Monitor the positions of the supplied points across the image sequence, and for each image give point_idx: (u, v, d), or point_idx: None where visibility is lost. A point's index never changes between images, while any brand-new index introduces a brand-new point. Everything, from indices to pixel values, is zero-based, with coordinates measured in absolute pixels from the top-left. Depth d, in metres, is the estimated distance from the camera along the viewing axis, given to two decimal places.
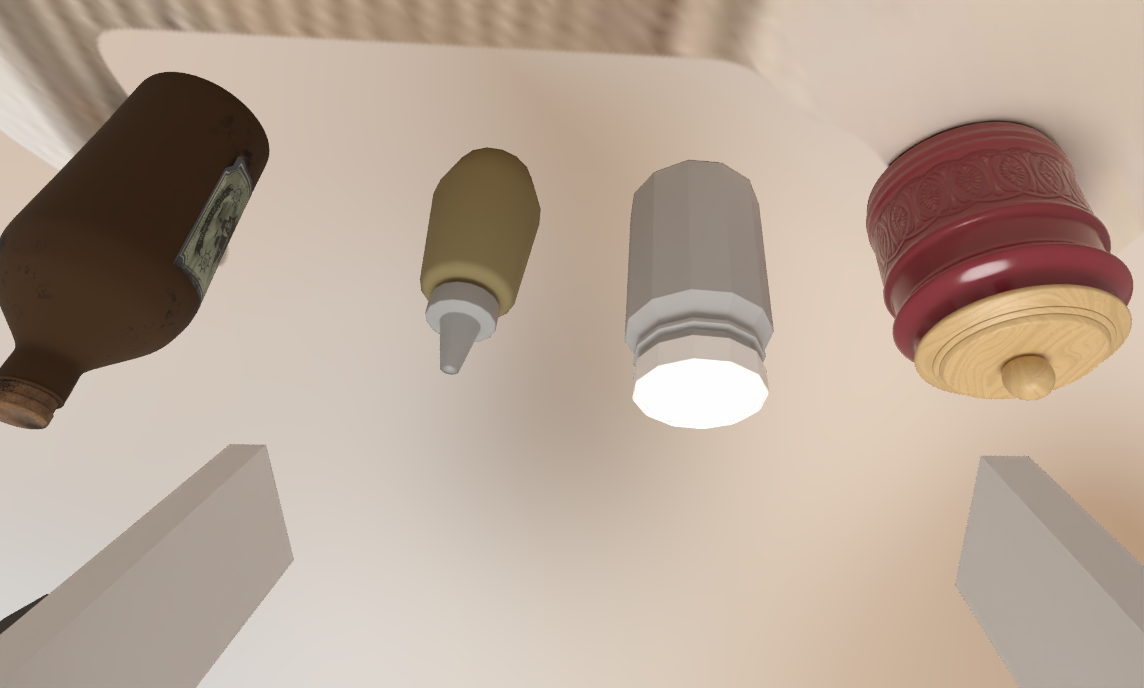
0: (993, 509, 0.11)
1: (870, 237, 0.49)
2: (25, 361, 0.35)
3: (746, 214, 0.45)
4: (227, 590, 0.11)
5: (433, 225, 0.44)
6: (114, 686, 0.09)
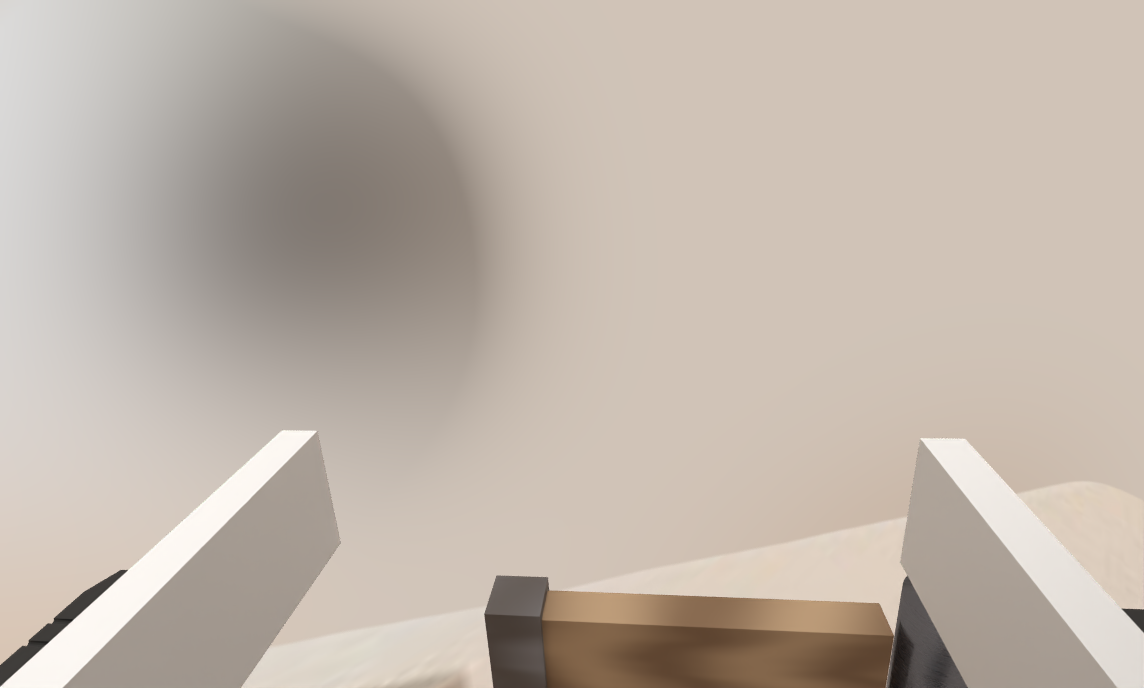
0: (930, 488, 0.11)
1: None
2: None
3: None
4: (285, 569, 0.12)
5: None
6: (192, 655, 0.09)
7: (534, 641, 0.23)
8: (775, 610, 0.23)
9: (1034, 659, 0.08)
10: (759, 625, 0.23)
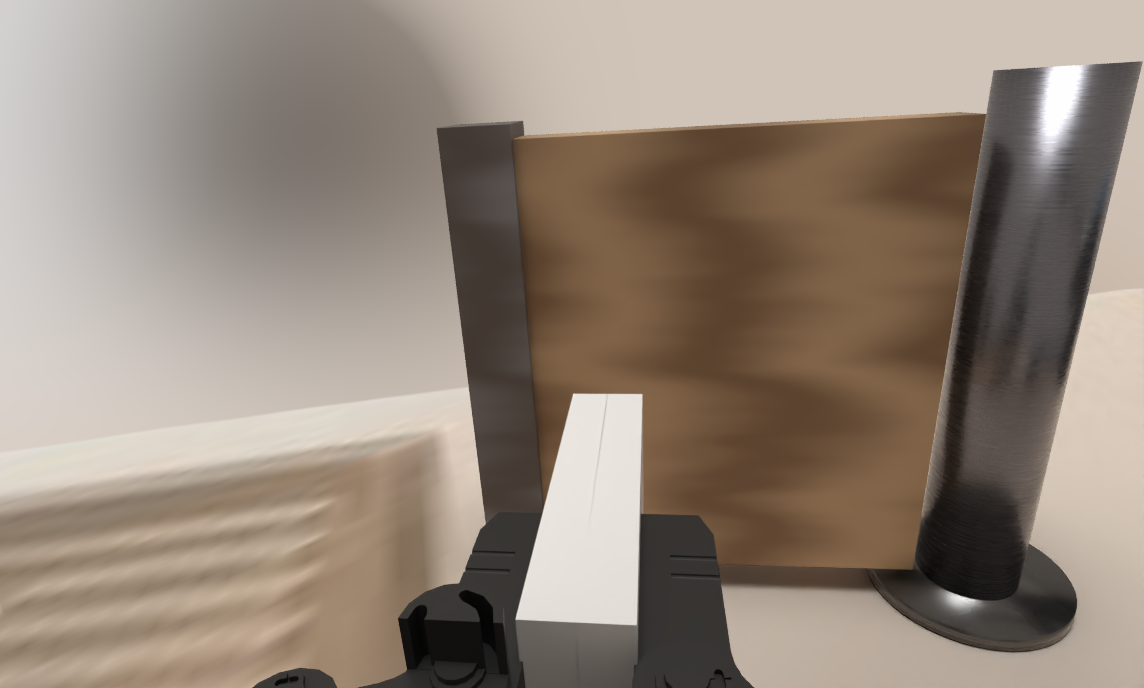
0: None
1: None
2: None
3: None
4: None
5: None
6: None
7: (503, 169, 0.18)
8: (822, 120, 0.17)
9: None
10: (802, 123, 0.17)
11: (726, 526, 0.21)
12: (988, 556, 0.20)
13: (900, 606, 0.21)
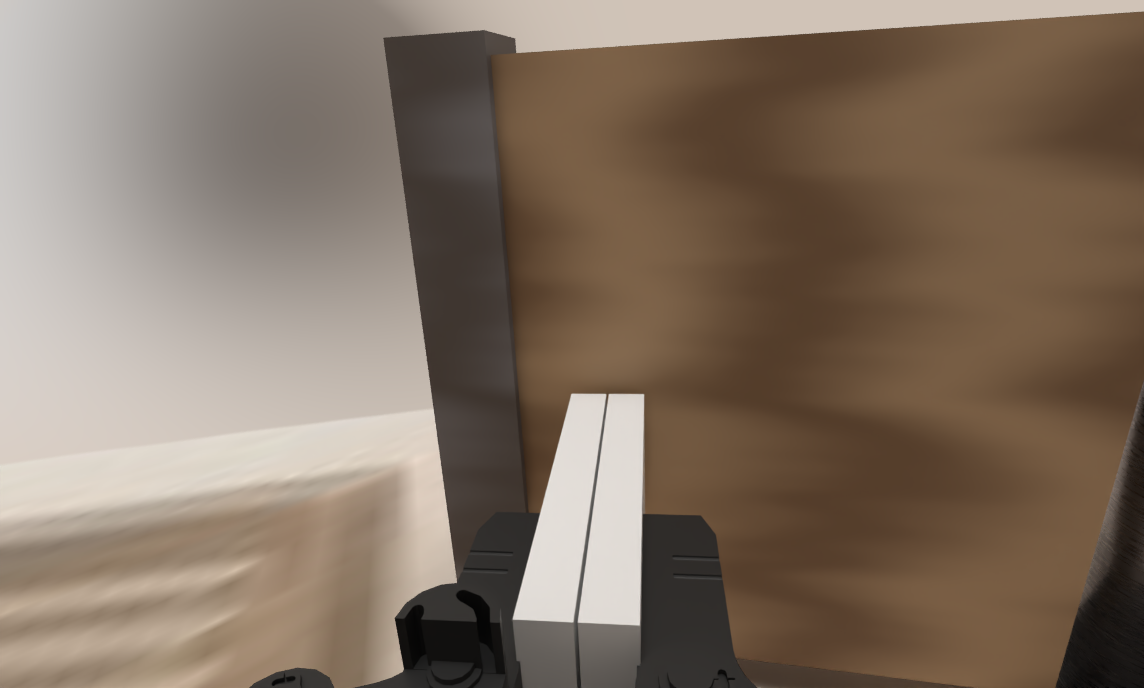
0: None
1: None
2: None
3: None
4: None
5: None
6: None
7: (475, 99, 0.12)
8: None
9: None
10: (931, 26, 0.11)
11: (780, 614, 0.15)
12: None
13: None
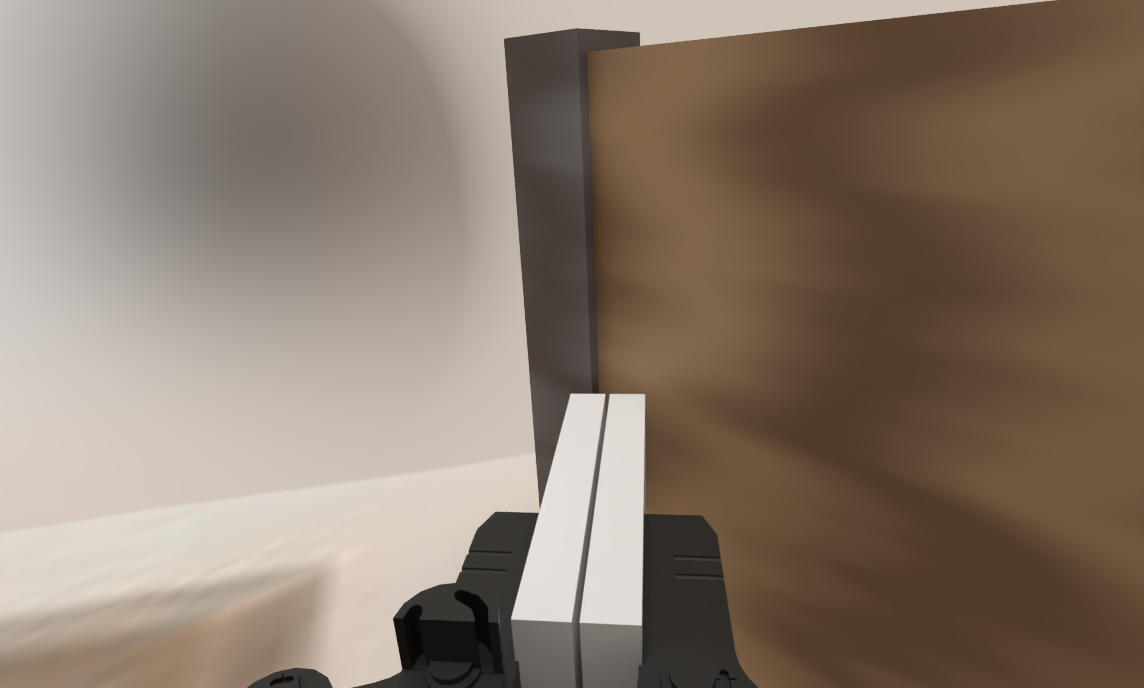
0: None
1: None
2: None
3: None
4: None
5: None
6: None
7: (569, 95, 0.13)
8: None
9: None
10: None
11: None
12: None
13: None
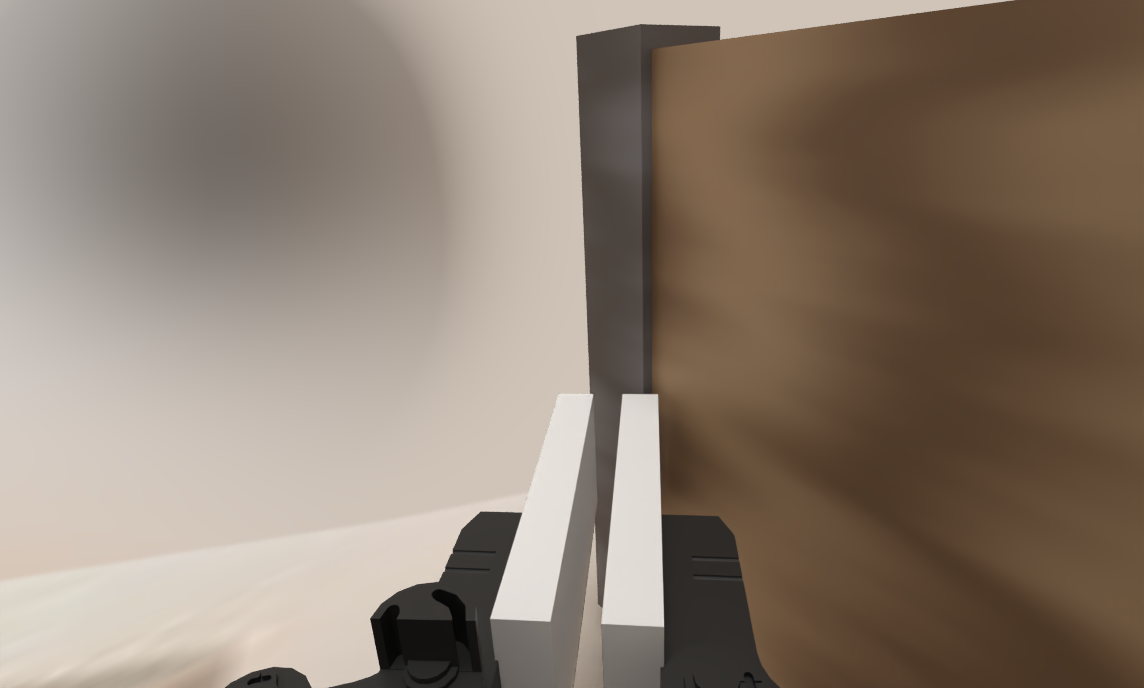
0: None
1: None
2: None
3: None
4: (588, 518, 0.13)
5: None
6: (575, 584, 0.10)
7: (631, 95, 0.12)
8: None
9: None
10: None
11: None
12: None
13: None
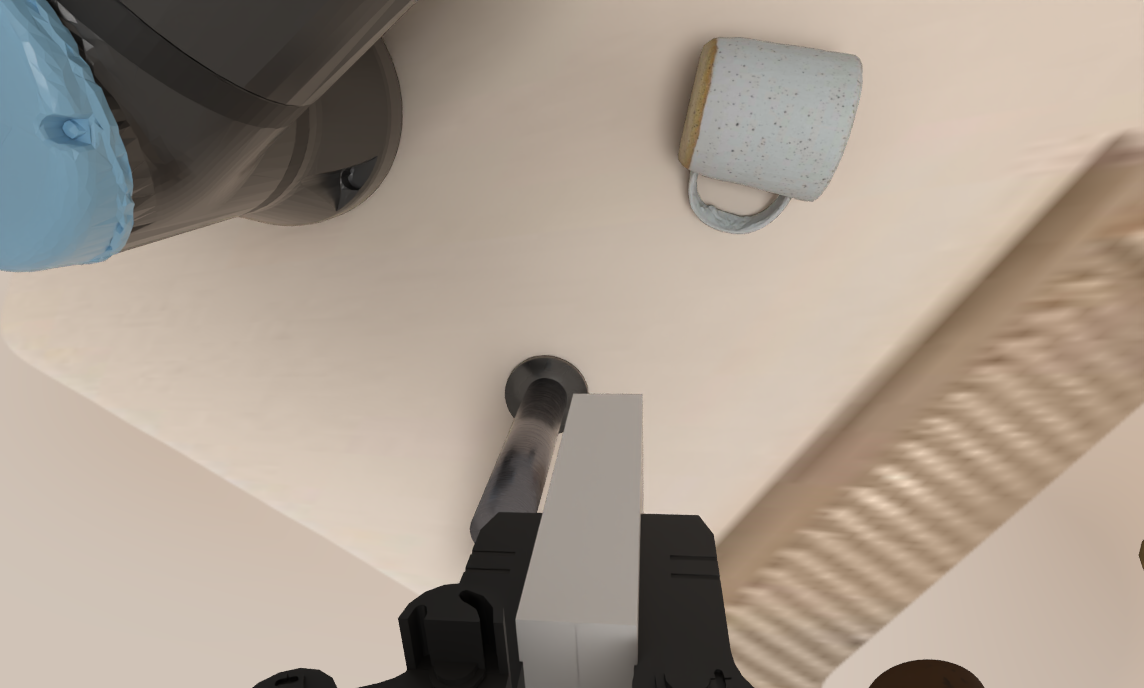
0: None
1: None
2: None
3: None
4: None
5: None
6: None
7: None
8: None
9: None
10: None
11: None
12: (561, 399, 0.44)
13: None
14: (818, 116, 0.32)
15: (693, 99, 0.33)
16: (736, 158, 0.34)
